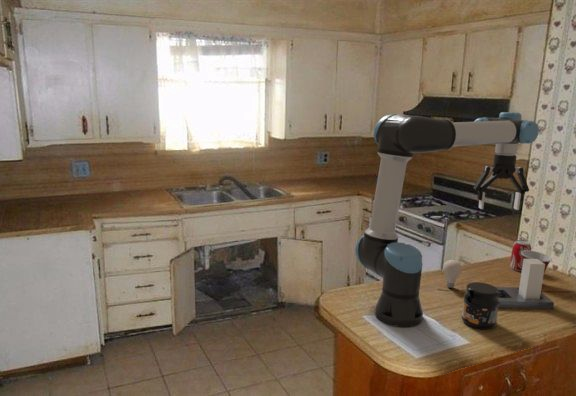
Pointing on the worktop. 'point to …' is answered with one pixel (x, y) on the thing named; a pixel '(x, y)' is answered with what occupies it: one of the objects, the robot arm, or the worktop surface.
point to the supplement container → (480, 305)
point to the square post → (531, 278)
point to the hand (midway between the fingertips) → (498, 208)
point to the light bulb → (451, 272)
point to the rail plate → (522, 300)
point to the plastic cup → (536, 257)
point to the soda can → (518, 254)
